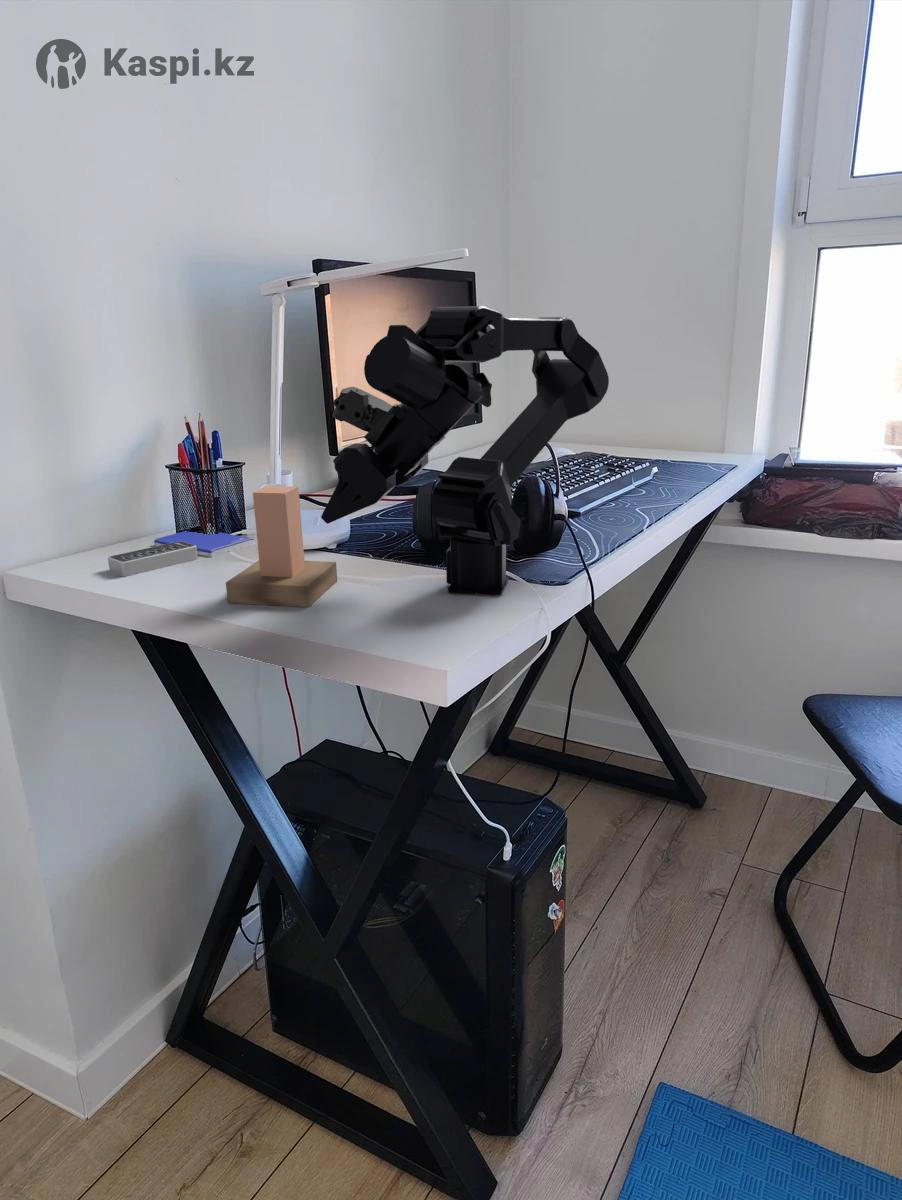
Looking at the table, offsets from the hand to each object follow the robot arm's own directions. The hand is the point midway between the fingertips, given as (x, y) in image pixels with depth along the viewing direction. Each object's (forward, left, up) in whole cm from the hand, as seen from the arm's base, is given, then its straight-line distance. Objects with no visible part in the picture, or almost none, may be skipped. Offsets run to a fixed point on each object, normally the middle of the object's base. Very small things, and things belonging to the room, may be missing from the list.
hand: (338, 511), depth 99 cm
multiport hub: (+30, -8, -11) cm, 33 cm away
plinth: (+7, 0, -10) cm, 13 cm away
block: (+7, 0, -8) cm, 11 cm away
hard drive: (+28, -19, -11) cm, 36 cm away
